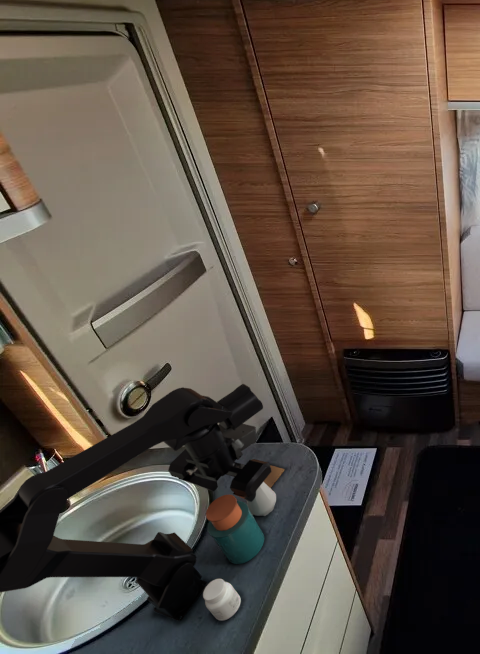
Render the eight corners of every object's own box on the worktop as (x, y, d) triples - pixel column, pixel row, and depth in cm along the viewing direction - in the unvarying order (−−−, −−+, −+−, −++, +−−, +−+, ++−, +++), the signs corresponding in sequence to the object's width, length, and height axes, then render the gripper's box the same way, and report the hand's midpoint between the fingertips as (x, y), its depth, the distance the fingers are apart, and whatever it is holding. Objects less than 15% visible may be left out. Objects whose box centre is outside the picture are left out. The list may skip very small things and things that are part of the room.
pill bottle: (237, 588, 82) (223, 569, 78) (244, 607, 80) (230, 589, 76) (212, 607, 80) (196, 588, 76) (218, 627, 77) (203, 609, 73)
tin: (247, 569, 85) (228, 541, 79) (219, 559, 87) (198, 531, 81) (272, 533, 91) (256, 505, 85) (245, 525, 93) (227, 497, 87)
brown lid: (228, 535, 80) (221, 524, 78) (207, 527, 82) (199, 516, 79) (248, 509, 85) (242, 498, 83) (228, 502, 86) (221, 491, 84)
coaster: (268, 490, 99) (268, 489, 99) (249, 485, 101) (248, 484, 100) (284, 470, 104) (284, 469, 104) (266, 464, 105) (265, 463, 105)
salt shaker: (271, 520, 93) (253, 487, 87) (246, 520, 94) (226, 486, 87) (283, 495, 98) (266, 462, 92) (259, 495, 98) (241, 461, 92)
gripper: (279, 421, 82) (298, 469, 90) (202, 403, 86) (227, 451, 94) (236, 470, 73) (261, 520, 81) (151, 448, 77) (184, 497, 85)
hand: (234, 494), depth 85 cm, fingers open, 9 cm apart
